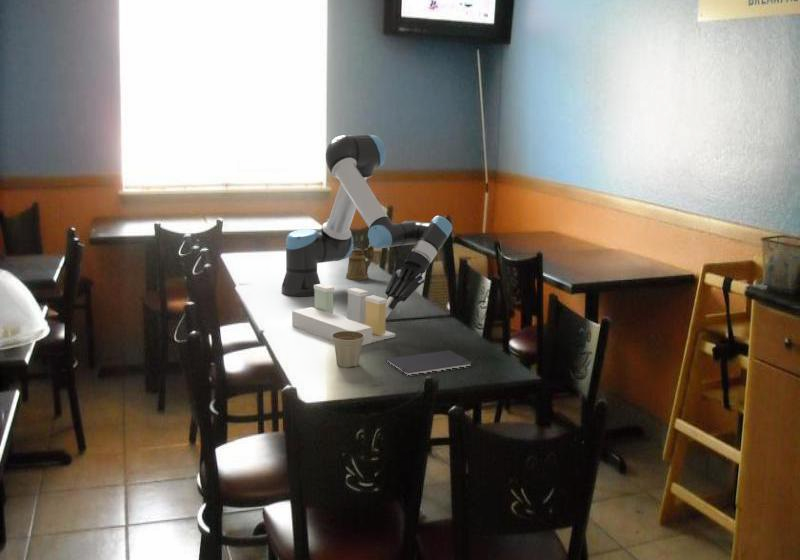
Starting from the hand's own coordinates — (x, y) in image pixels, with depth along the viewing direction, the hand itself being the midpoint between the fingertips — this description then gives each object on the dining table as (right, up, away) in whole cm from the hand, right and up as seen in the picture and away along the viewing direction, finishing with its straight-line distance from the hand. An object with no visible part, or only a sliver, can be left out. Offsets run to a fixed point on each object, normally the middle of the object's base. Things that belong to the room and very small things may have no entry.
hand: (382, 315), depth 259 cm
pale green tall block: (-20, -2, +12) cm, 24 cm away
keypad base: (-14, -5, +4) cm, 15 cm away
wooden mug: (-10, +12, +80) cm, 81 cm away
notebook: (+14, -14, -24) cm, 31 cm away
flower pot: (-9, -13, -27) cm, 31 cm away
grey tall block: (-9, -3, +8) cm, 12 cm away
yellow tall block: (-2, -5, -1) cm, 6 cm away
